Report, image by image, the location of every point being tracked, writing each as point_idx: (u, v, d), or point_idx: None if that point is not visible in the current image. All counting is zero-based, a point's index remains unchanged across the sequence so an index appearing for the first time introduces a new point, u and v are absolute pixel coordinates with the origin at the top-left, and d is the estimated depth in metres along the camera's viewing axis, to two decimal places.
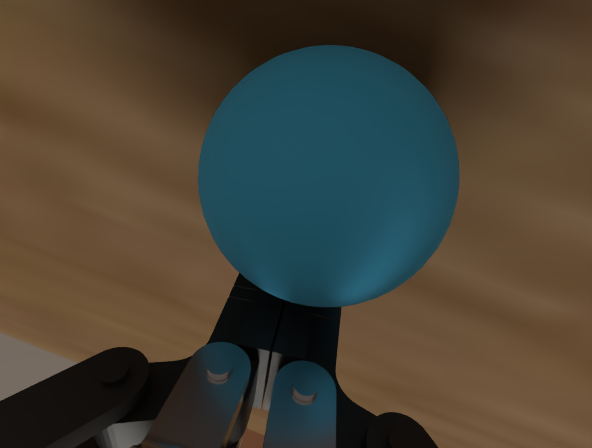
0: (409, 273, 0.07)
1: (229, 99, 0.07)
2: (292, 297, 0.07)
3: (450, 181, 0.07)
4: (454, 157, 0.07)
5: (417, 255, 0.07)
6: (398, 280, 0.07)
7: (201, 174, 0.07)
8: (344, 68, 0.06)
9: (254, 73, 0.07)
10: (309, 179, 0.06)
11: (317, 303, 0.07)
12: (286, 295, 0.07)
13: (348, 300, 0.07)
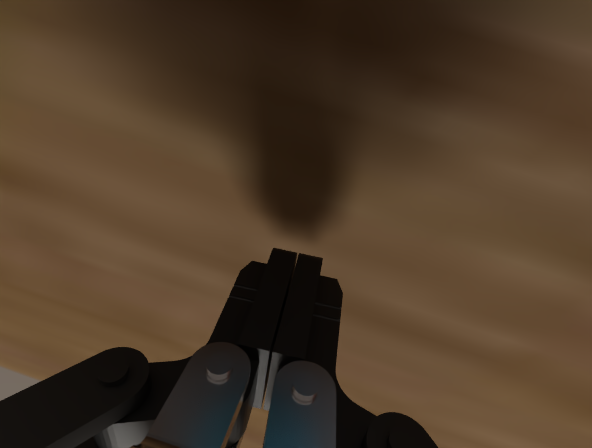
0: None
1: None
2: None
3: None
4: None
5: None
6: None
7: None
8: None
9: None
10: None
11: None
12: None
13: None
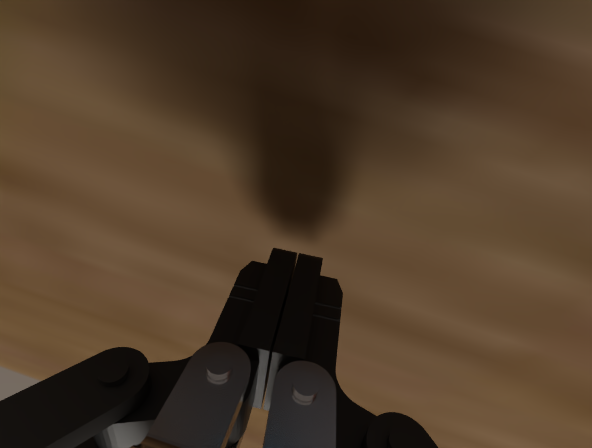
0: None
1: None
2: None
3: None
4: None
5: None
6: None
7: None
8: None
9: None
10: None
11: None
12: None
13: None
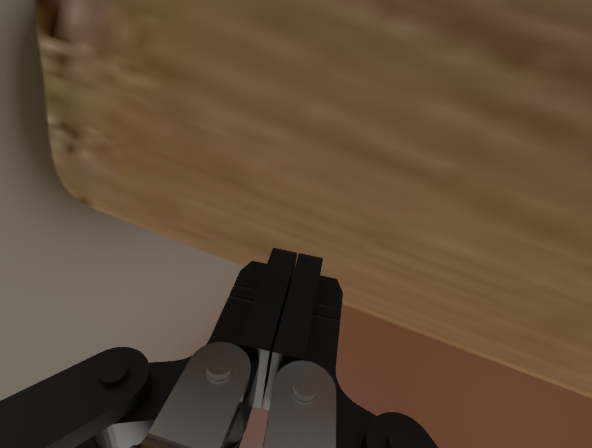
0: None
1: None
2: None
3: None
4: None
5: None
6: None
7: None
8: None
9: None
10: None
11: None
12: None
13: None
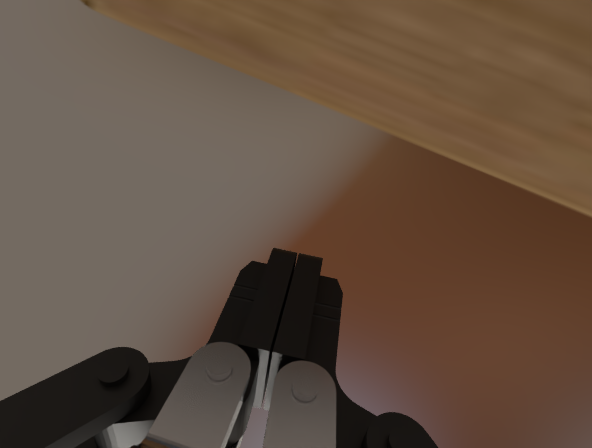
0: None
1: None
2: None
3: None
4: None
5: None
6: None
7: None
8: None
9: None
10: None
11: None
12: None
13: None
